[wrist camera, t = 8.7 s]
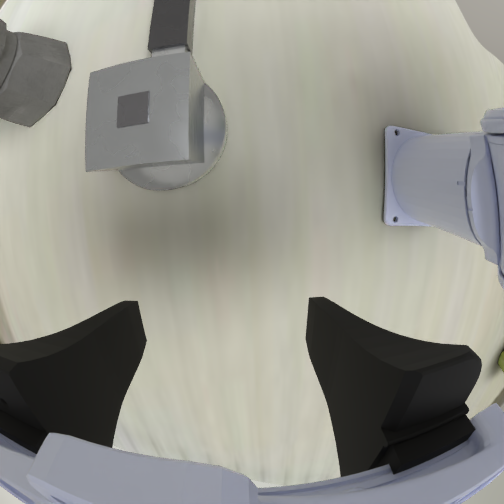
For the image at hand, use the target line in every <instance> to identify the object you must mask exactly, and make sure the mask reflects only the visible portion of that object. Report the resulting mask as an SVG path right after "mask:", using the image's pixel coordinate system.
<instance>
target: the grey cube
mask: <svg viewBox="0 0 504 504" xmlns="http://www.w3.org/2000/svg"><path fill="white" fill-rule="evenodd" d="M204 83H205V82H204V80H203V78H202V76H201V73H200V71H199V69H198V67H197V65H196V62H195V60H194V58H193V56H192V54H191V52H183V53H175V54H168V55H162V56H156V57H151V58H146V59H141V60H136V61H132V62H127V63H123V64H119V65H115V66H112V67H108V68H105V69H101V70H98V71H95V72H91V73H90V79H89V88H88V98H87V112H86V137H85V160H86V172H92V171H111V170H129V169H137V168H146V167H156V166H167V165H179V164H194V163H204Z"/></svg>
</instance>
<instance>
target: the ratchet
mask: <svg viewBox="0 0 504 504" xmlns="http://www.w3.org/2000/svg"><path fill="white" fill-rule="evenodd" d="M195 1H196V0H155V1H154V7H153V13H152V20H151V27H150V35H149V43H148V50H149V51H150V52H151V53H152V57H156V56H162V55H168V54H175V53H183V52H191V54H192V46H193V28H194V13H195ZM226 140H227V121H226V117H225V114H224V110H223V108H222V105H221V102H220V100H219V99H218V97H217V95H216V94H215V93H214V91H213V90H212V89H211V88H210V87H209V86H208V85H207V84H205V83H204V163H194V164H179V165H167V166H156V167H146V168H137V169H129V170H119V172H120V173H121V174H122V175H123V176H124V177H125V178H126V179H128V180H129V181H130V182H132V183H133V184H135V185H137V186H140V187H142V188H146V189H149V190H170V189H175V188H178V187H182V186H186V185H189V184H191V183H194V182H196V181H197V180H199V179H201V178H202V177H204V176H205V175H206V174H207V173H208V172H209V171H210V170H212V168H213V167H214V166H215V165H216V164H217V162H218V160H219V159H220V157H221V155H222V153H223V151H224V148H225V145H226Z"/></svg>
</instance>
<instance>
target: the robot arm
mask: <svg viewBox="0 0 504 504" xmlns="http://www.w3.org/2000/svg"><path fill="white" fill-rule="evenodd" d="M480 123H481V127H482V130H483V131H478V132H461V133H449V134H438V135H433V134H429V133H424V132H420V131H416V130H411V129H406V128H401V127H396V126H387V127H386V128H385V202H384V222H385V224H387V225H390V226H433V227H436V228H439V229H441V230H444V231H446V232H449V233H452V234H454V235H457V236H459V237H461V238H464V239H466V240H469V241H471V242H473V243H476V244H478V245H480V246H483V248H484V251H485V259H486V260H488V261H490V262H492V263H494V264H496V265H498V279H499V282H500V284H501V286H502V288H503V289H504V108H498V109H491V110H487V111H486V113H485V115H484V118H483V119H481V121H480ZM395 130H396V131H397V135H395ZM394 217H396V220H395V221H393V218H394ZM146 341H147V340H146V336H145V332H144V328H143V323H142V319H141V314H140V310H139V305H138V301H123V302H120V303H118V304H116V305H114V306H112V307H110V308H108V309H106V310H104V311H102V312H100V313H98V314H96V315H94V316H93V317H91V318H89V319H87V320H85V321H82V322H80V323H78V324H76V325H74V326H72V327H70V328H67V329H65V330H63V331H60V332H57V333H54V334H51V335H48V336H45V337H41V338H37V339H34V340H29V341H24V342H18V343H10V344H0V486H1V487H3V488H4V489H5V490H7V491H8V492H10V493H11V494H12V495H14V496H15V497H16V498H18V499H19V500H21V501H22V502H24V503H25V504H461V503H463V502H464V501H465V500H467V499H468V498H470V497H471V496H473V495H474V494H476V493H477V492H479V491H480V490H481V489H483V488H484V487H485V486H487V485H488V484H489V483H490V482H491V481H493V480H494V479H495V478H496V477H497V476H498V475H499V474H500V473H501V472H502V471H504V412H503V411H502V409H501V408H500V407H499V406H498V404H497V403H494V404H492V405H491V406H489V407H487V408H486V409H484V410H482V411H481V412H479V413H478V414H476V415H475V416H474V417H473V418H472V419H471V420H469V419H468V417H467V416H466V415H465V414H467V413H468V412H469V408H468V407H467V405H466V404H465V401H466V400H467V398H468V396H469V395H470V393H471V391H472V389H473V388H474V386H475V384H476V382H477V380H478V378H479V375H480V372H481V367H482V363H481V359H480V358H479V356H478V355H477V354H476V353H475V352H474V351H473V350H472V349H471V348H470V347H469V346H467V345H453V344H440V343H433V342H427V341H422V340H417V339H413V338H409V337H406V336H402V335H399V334H396V333H393V332H390V331H388V330H385V329H382V328H380V327H378V326H375V325H373V324H371V323H369V322H367V321H365V320H363V319H361V318H359V317H358V316H356V315H354V314H352V313H351V312H349V311H347V310H345V309H344V308H342V307H341V306H339V305H337V304H336V303H334V302H332V301H331V300H329V299H327V298H325V297H313V298H309V305H308V318H307V329H306V343H307V347H308V352H309V356H310V359H311V362H312V364H313V367H314V370H315V372H316V375H317V377H318V380H319V383H320V385H321V388H322V390H323V393H324V395H325V398H326V401H327V405H328V409H329V413H330V417H331V421H332V426H333V431H334V436H335V441H336V446H337V452H338V459H339V465H340V474H341V477H340V478H335V479H330V480H325V481H319V482H313V483H307V484H299V485H291V486H281V487H270V488H257V487H256V486H255V484H254V483H253V482H252V481H251V480H250V479H249V478H248V477H247V476H245V475H244V474H241V473H238V472H235V471H232V470H230V469H227V468H224V467H222V466H217V465H210V464H204V463H198V462H192V461H185V460H176V459H168V458H160V457H154V456H148V455H142V454H137V453H132V452H127V451H122V450H118V449H113V448H112V446H113V439H114V434H115V429H116V425H117V420H118V416H119V413H120V409H121V405H122V402H123V400H124V397H125V395H126V392H127V390H128V388H129V386H130V383H131V381H132V379H133V377H134V375H135V372H136V370H137V368H138V366H139V364H140V361H141V359H142V356H143V352H144V349H145V345H146Z"/></svg>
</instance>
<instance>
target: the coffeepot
mask: <svg viewBox="0 0 504 504" xmlns="http://www.w3.org/2000/svg"><path fill="white" fill-rule="evenodd" d="M70 69H71V62H70V54H69V51H68V49H67V44H66V42H62V41H58V40H54V39H50V38H46V37H42V36H38V35H33V34H28V33H23V32H14V33H13V32H10V31H8V30H6V23H5V22H4V21H2V20H1V19H0V118H1V119H4V120H7V121H10V122H13V123H17V124H20V125H24V126H27V127H30V126H32V125H33V124H34V123H36V122H37V121H38V120H39V119H41V118H42V117H43V116H44V115H45V114H46V113H47V112H48V111H49V110H50V109H51V108H52V107H53V106H54V105H55V103H56V101H57V100H58V98H59V96H60V94H61V92H62V90H63V88H64V86H65V84H66V81H67V78H68V75H69V71H70Z"/></svg>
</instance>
